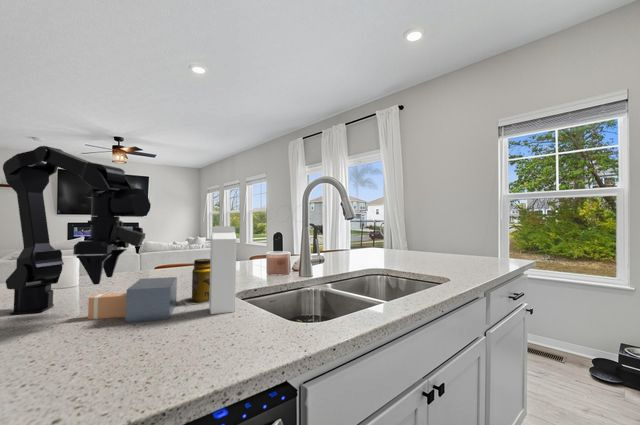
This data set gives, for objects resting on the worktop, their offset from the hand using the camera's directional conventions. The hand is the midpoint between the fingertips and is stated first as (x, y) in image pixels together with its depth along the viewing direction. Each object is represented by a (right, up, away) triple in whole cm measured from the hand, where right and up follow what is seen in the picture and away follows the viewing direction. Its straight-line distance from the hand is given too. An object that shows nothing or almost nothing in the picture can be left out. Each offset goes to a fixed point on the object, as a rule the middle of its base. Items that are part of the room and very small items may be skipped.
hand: (103, 280), depth 74 cm
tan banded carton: (+4, -9, +1) cm, 10 cm away
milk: (+27, -9, +6) cm, 29 cm away
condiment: (+17, -10, +15) cm, 25 cm away
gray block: (+10, -9, +3) cm, 14 cm away
